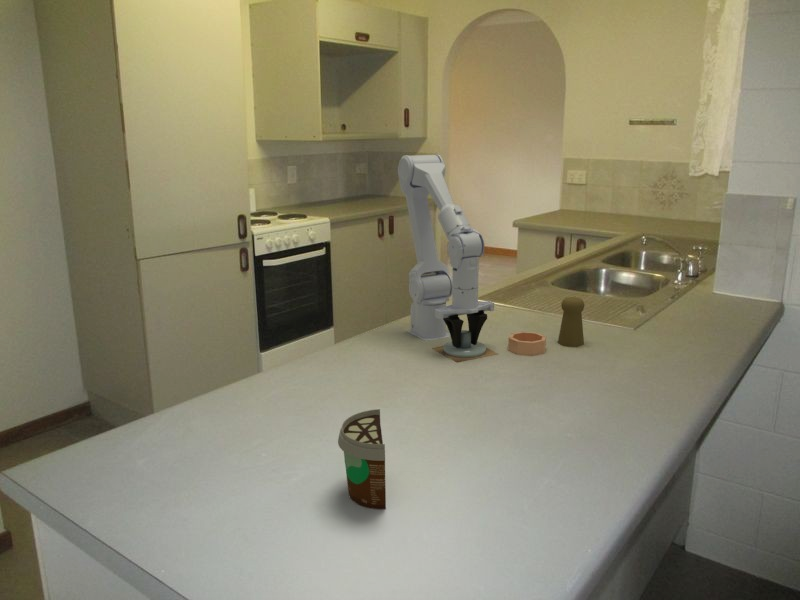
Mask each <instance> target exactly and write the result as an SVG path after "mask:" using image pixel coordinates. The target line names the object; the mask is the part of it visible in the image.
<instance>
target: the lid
mask: <svg viewBox="0 0 800 600" xmlns="http://www.w3.org/2000/svg"><path fill="white" fill-rule="evenodd" d="M443 346H444V353H445V354H447V355H449V356H452V357H457V358H474V357H479V356H482V355H484V354H485V353H486V348H487V345H485V343H482V342H479V341H477V344H476V345H473V344H471V331H469V330H466V329H465V330H463V329H462V330H461V345H460V348H456V347H454V346H453V344H452V341H448V342H446V343H445V344H444V345H443Z"/></svg>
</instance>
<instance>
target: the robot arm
mask: <svg viewBox="0 0 800 600" xmlns="http://www.w3.org/2000/svg"><path fill="white" fill-rule="evenodd" d="M397 175H398V176H397V177H398V181H399V186H400V190H401V191H400V192H401V193H403V194H404V195H405V200H406V206H407V211H408V217H409V218H408V219H409V223H410V227H411V234H412V239H413V245H414V246H413V247H414V251H415V256H416V262H417V263H416V264H415V265H414V266H413V267H412V269H411V270H409V273H408V281H409V282H408V291H409V292H408V293H409V296H410V298H411V299H412V301H413V302H412V303H411V305H410V310H409V311H410V312H409V313H410V329H409V330H407V332H408V333H410V334H411V335H413V336H415V337H416V338H417V337H418V339H421V340H423V341H425V342H429V341H434V340H440V339H444V338H451V342H452V344H453V346H454V347H456V348H460V345H461V331H462V330H463V325H464V322H465V321H464V320H463V319H460V317H459V316H465V315H466V317H467V323H468V324H467V325H468V331H471V344H473V345H476V344H477V342H479V341H478V339H479V337H480V334H481V331H482V328H483V326H484V324H485V323H486V321H487V320H488V313H485V312H488V311H489V312H494V311H495V302H493V301H491V300H486V301H479V267H480V266H479V263H480V262H479V261H480V259H479V258H481V257H482V256H483V255H484V251H485V240H484V238H483V235H482V233H481V232H479V231H477V230H476V229H475V228H474V227H471V224H470V222H469V221H468V218H467V216H466V214H465V212H464V210H463V208H462V207H461V206H460V205H457V204H454V200H453V197H452V195H451V192H450V189H449V187H448V185H447V182H446V179H445V176H446V165H445V162H444V159H443V158H442V155H440V154H437V153H434V154H422V155H419V154H418V155H407V154H405V155H403V156H402V157H400V160H399V162H398V166H397ZM429 195H430V197H431V199H432V200H433V202H434V203H435V205H436V206H437V209H438V211H439V213H438V215H437V218H438V221H439V223H440V226H441V228H442V230H443V232H444V233H445V236H446V238H447V240H448V242H447V245H446V249H447V254H448V257H449V265H450V267H451V268H452V276H451V273H450V269H449V266H448V265H447V264H445V263H443V262H442V261H441V260H439V257H438V251H437V245H436V239H435V232H434V228H433V222H432V217H431V212H430V206H429V200H428V196H429ZM450 298H452V299H451V300H452V302H451V303H452V304H449V305H447V302H449V301H450ZM447 330H448V332H447Z"/></svg>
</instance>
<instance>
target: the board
mask: <svg viewBox="0 0 800 600" xmlns="http://www.w3.org/2000/svg"><path fill="white" fill-rule="evenodd" d="M431 349H432V350H433V351H435V352H437V353H438V354H441V355H443V356H444V357H445V358H448V359H450V360H451V361H454V362H455V363H462V362H466V361H471V360H472V361H473V360H476V359H483V358H487V357H491V356H492V357H493V356H498V355H499V353H498V352H496V351H494V350H492V349H490V348H487V347H486V353H485V354H484V355H482V356H479V357H474V358H457V357H452V356H449V355H447V354H445V353H444V345H441V346H437V347H431Z"/></svg>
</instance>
